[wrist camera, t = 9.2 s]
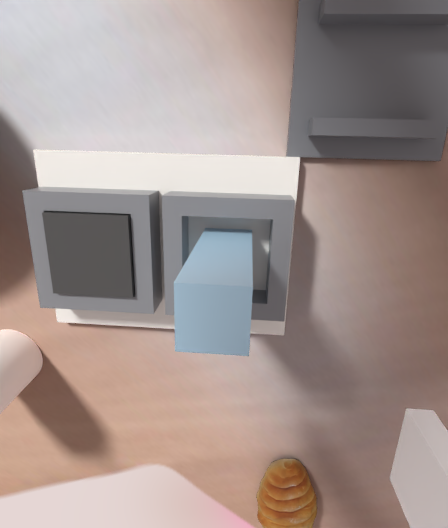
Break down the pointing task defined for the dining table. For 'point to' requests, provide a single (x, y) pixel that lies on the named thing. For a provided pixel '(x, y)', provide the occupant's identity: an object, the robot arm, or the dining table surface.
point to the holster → (370, 80)
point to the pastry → (286, 496)
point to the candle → (17, 364)
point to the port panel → (154, 230)
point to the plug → (215, 294)
